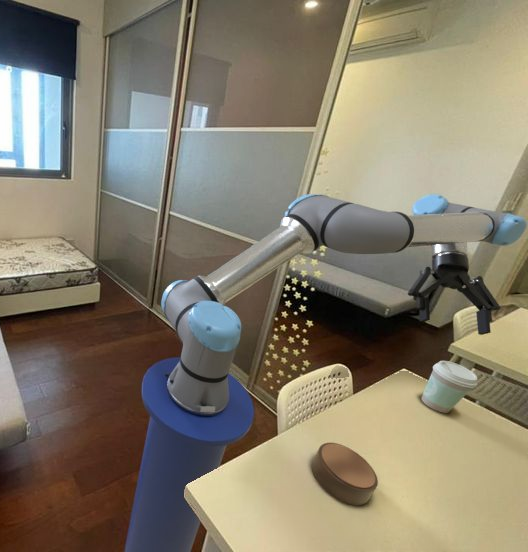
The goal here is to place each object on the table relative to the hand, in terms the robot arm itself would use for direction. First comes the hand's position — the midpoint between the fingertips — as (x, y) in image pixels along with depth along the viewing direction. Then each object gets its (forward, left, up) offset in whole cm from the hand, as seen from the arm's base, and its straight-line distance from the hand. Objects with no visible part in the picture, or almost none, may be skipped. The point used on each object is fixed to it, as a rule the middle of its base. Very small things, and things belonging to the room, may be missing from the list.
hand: (454, 327), depth 86 cm
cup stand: (-7, -54, -20) cm, 58 cm away
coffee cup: (+4, -7, -20) cm, 22 cm away
